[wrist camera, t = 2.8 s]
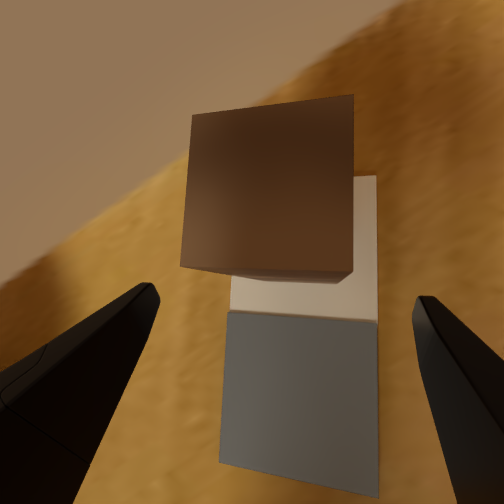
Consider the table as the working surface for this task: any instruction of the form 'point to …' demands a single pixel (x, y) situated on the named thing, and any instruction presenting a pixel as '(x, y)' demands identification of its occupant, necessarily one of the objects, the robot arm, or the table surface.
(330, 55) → the table surface
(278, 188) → the walnut pillar
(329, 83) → the table surface
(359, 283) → the tile
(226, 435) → the mat
